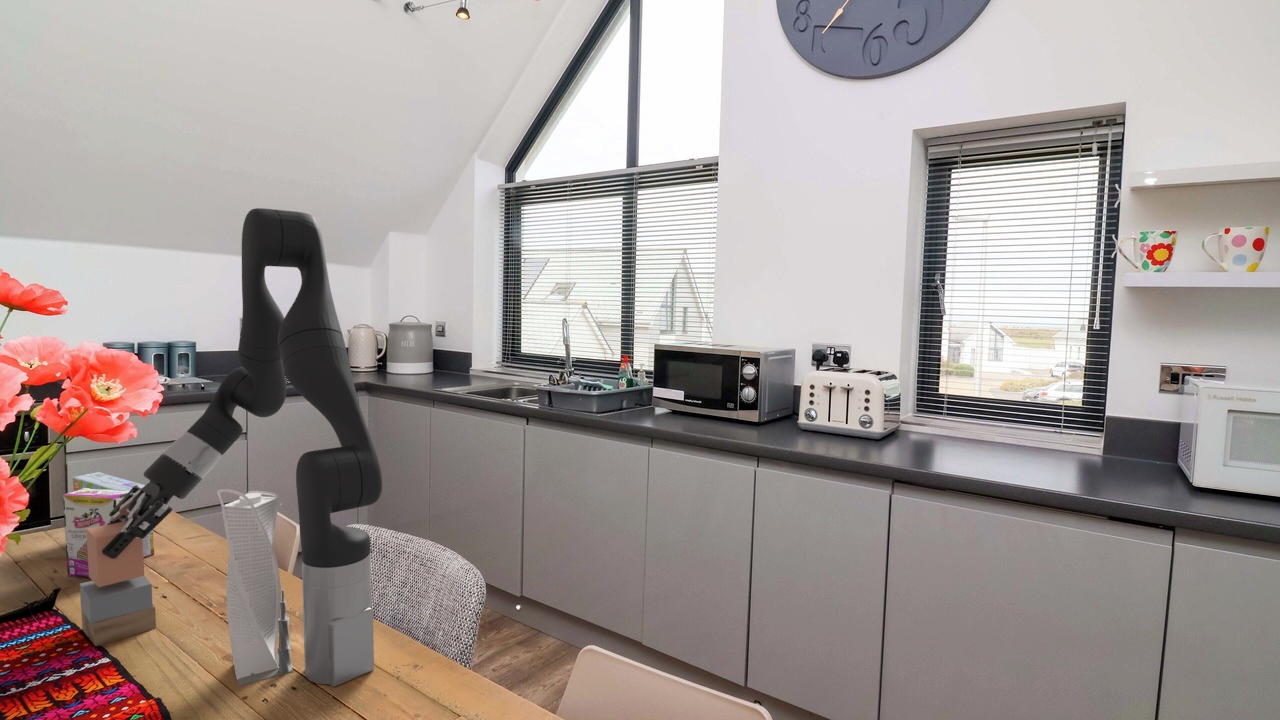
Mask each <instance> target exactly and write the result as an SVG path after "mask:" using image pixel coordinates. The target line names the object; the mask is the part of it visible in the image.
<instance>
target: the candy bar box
mask: <svg viewBox="0 0 1280 720" xmlns="http://www.w3.org/2000/svg"><path fill="white" fill-rule="evenodd" d="M128 492H129V491H121V490H106V489H92V488H83V489H80V490H76V491H74V490H73V491H71V492H67V493H65V494H63V495H62V497H63V498H62V499H63V516H64V532H65V534H64V535H65V547H66V548H65V549H66V563H67V564H66V567H67V576H68V577H75V578H87V579H91V578H90V577H89V568H88V551H87V534H86V529H89V528H94V527H99V526H104V525H107V524H108V523H110V522H109V519H110V518H111V516H109V514H110V512H111V511H112V510H113V509H114V508H115V507H116V506H117V505H118V504H119V502H120V501H121V500H122V499H123V498H124V497H125V496H126V495H127V493H128ZM134 523H135V522H134Z"/></svg>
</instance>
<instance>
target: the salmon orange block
mask: <svg viewBox="0 0 1280 720" xmlns="http://www.w3.org/2000/svg"><path fill="white" fill-rule="evenodd" d="M127 522H128V521H124V522H119V523H114V524H110V525H104V526H99V527H94V528H89V529H86V534H87V551H88V568H89V577H90V578H89V579H90V581H93V582H94V583H95V584H96V585H97V586H98V587H102V586H106V585H110V584H114V583H118V582H122V581H126V580H130V579H134V578H138V577H142V576H145V561H144V558H143V539H141V538H137V539H133V541H132V542H131V543H130V544H129V545H128V546H127V547H126V548H125V549H124V550H123V551H122V552H121V553H120V554H119V555H118V557H117V558H115V559H112V558H110V557H108V556H106V555H104V554H103V553H102V550H103V549H104V548H105V547H106V546H107V545H108V544H109V543H110V542H111V541H112V540H113V539H114V538H115V537H116V536H117V535H118V533H119V532H121V531H122V529H123V528H124V526H125V525H126V523H127ZM122 533H123V532H122Z"/></svg>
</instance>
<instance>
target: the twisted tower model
mask: <svg viewBox="0 0 1280 720" xmlns="http://www.w3.org/2000/svg"><path fill="white" fill-rule="evenodd" d="M222 493H230V494H233V495H238V496H239V497H238V498H239V499H236V500H234V501H231V502H229V503H226V504H224V500H223V498H222V495H221V494H222ZM216 495H217V497H218V500H219V503H220V506H221V512H222V517H223V524H224V531H225V536H226V541H227V546H228V551H229V555H228V556H229V557H228V561H227V569H226V584H225V585H226V586H225V587H226V590H225V591H226V593H225V594H226V616H227V624H228V632H229V633H228V634H229V640H230V647H231V648H230V649H231V655H232V659H233V662H232V664H233V669H234V673H235V678H236V681H237V685H238V687H242V686H246V685H250V684H253V683H257V682H261V681H264V680H269V679H271V678H275V677H279V676H281V675H282V676H283V675H286V674H290V673H293V672H294V668H293V664H292V658H291V649H292V645H291V637H290V630H289V626H290V618H291V617H289V616H288V615H287V600H285V589H282V585H281V584H282V583H281V575H280V569H279V565H278V560H277V556H276V554H275V551H274V547H273V542H274V535H275V532H276V531H275V530H276V525H277V517H278V511H279V510H278V509H279V502H280V497H279V495H278V494H277V493H275V492H271V491H265V490H249V491H247V493H245V494H244V493H242V492H241V491H238V490H235V489H230V488H220V489H218V490H217V491H216ZM262 495H266V496H262ZM267 495H268V496H267ZM277 641H278V642H277ZM277 643H278V648H277V652H276V647H277Z"/></svg>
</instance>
